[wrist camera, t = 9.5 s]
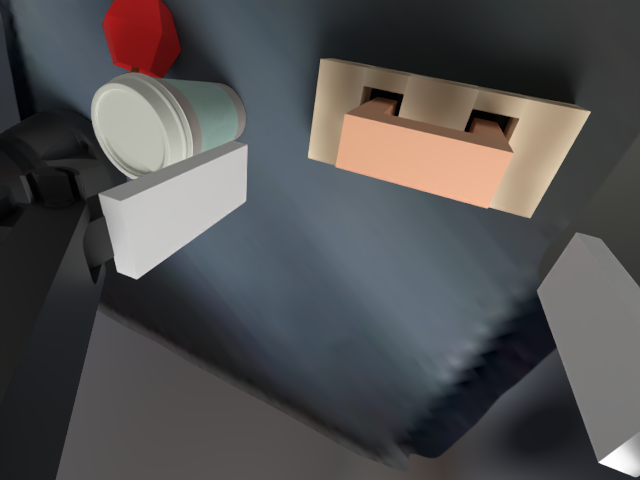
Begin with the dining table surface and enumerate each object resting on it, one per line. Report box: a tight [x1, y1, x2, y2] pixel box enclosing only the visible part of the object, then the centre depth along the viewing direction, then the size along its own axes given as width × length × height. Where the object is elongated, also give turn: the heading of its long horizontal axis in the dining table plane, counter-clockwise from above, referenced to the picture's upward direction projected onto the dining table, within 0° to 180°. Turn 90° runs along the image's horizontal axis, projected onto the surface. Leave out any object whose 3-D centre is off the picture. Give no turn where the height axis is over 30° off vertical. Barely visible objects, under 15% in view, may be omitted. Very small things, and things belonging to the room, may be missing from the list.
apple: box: [102, 0, 181, 78], centre depth 31 cm, size 7×7×8 cm
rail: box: [308, 58, 591, 218], centre depth 27 cm, size 19×8×4 cm, turn 81°
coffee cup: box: [91, 72, 246, 179], centre depth 30 cm, size 8×9×12 cm
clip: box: [335, 97, 514, 209], centre depth 24 cm, size 10×4×10 cm, turn 81°
